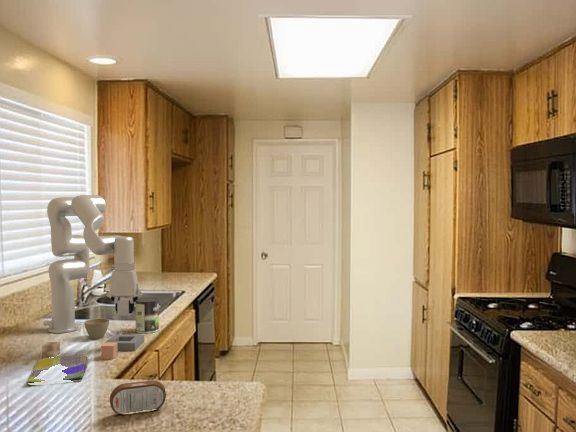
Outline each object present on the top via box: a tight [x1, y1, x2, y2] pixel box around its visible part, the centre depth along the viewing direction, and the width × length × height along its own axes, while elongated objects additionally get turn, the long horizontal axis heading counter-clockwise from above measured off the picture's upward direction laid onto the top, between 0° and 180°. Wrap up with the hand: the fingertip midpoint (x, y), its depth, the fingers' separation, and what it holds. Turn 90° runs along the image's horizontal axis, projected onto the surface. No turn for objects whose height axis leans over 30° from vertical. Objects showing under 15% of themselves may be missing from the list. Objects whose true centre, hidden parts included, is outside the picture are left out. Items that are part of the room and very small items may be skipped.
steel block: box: [116, 297, 133, 317], centre depth 201 cm, size 4×4×6 cm
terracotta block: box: [100, 341, 119, 360], centre depth 188 cm, size 4×4×5 cm
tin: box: [109, 379, 167, 415], centre depth 140 cm, size 15×3×8 cm, turn 111°
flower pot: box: [83, 317, 110, 340], centre depth 214 cm, size 10×10×7 cm
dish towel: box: [26, 353, 90, 384], centre depth 172 cm, size 18×24×3 cm
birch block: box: [41, 341, 61, 359], centre depth 188 cm, size 4×4×5 cm
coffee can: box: [134, 296, 160, 334], centre depth 226 cm, size 10×10×14 cm
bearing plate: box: [104, 334, 145, 352], centre depth 202 cm, size 12×12×3 cm
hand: (125, 312), depth 201 cm, fingers closed on steel block, 4 cm apart
